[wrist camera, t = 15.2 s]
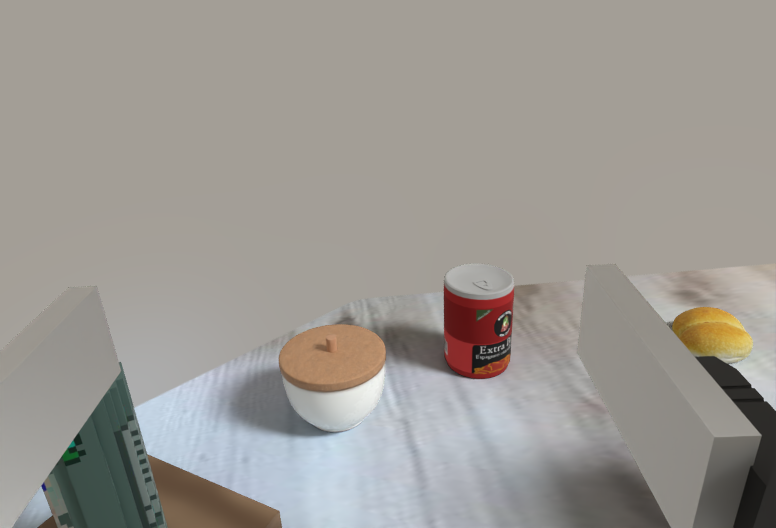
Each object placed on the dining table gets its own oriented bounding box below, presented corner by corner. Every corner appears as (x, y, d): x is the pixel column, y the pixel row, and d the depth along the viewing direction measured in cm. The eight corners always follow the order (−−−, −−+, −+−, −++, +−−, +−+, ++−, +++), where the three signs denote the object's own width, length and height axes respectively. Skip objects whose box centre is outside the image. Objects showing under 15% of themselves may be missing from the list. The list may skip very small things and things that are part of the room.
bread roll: (684, 365, 67) (690, 335, 65) (665, 325, 75) (670, 297, 73) (763, 370, 66) (771, 339, 64) (735, 328, 74) (741, 300, 72)
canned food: (480, 389, 64) (482, 301, 60) (430, 359, 70) (428, 277, 65) (524, 362, 69) (529, 278, 64) (473, 335, 74) (475, 257, 70)
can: (79, 538, 44) (17, 372, 37) (164, 508, 46) (119, 347, 40) (79, 607, 39) (7, 429, 32) (174, 569, 41) (124, 396, 35)
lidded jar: (409, 405, 62) (406, 330, 58) (339, 464, 55) (331, 383, 51) (337, 371, 69) (330, 301, 65) (266, 419, 61) (253, 343, 57)
